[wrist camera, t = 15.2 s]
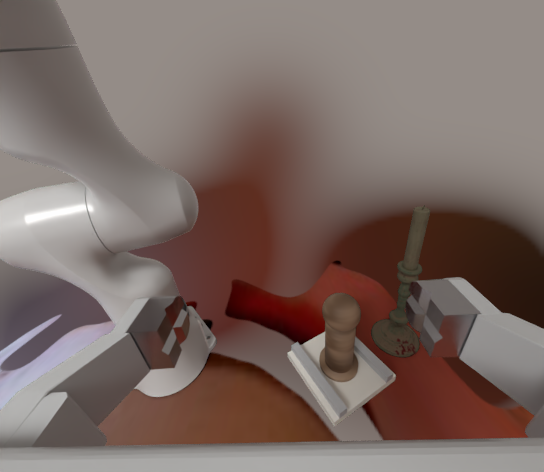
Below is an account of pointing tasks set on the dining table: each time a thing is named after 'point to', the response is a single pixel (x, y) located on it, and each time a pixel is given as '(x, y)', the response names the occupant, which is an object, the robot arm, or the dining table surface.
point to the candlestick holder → (403, 295)
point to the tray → (340, 395)
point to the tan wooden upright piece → (340, 337)
